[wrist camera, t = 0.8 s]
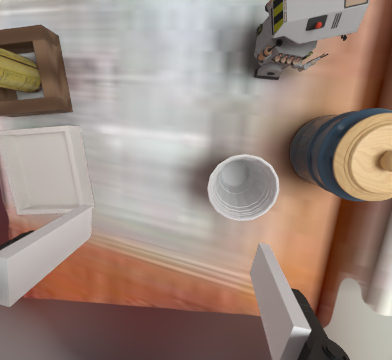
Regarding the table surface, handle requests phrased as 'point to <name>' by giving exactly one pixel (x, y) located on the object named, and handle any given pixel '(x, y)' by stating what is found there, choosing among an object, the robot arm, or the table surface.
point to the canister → (347, 154)
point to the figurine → (302, 31)
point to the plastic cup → (243, 187)
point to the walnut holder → (48, 69)
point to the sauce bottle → (18, 72)
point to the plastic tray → (46, 169)
